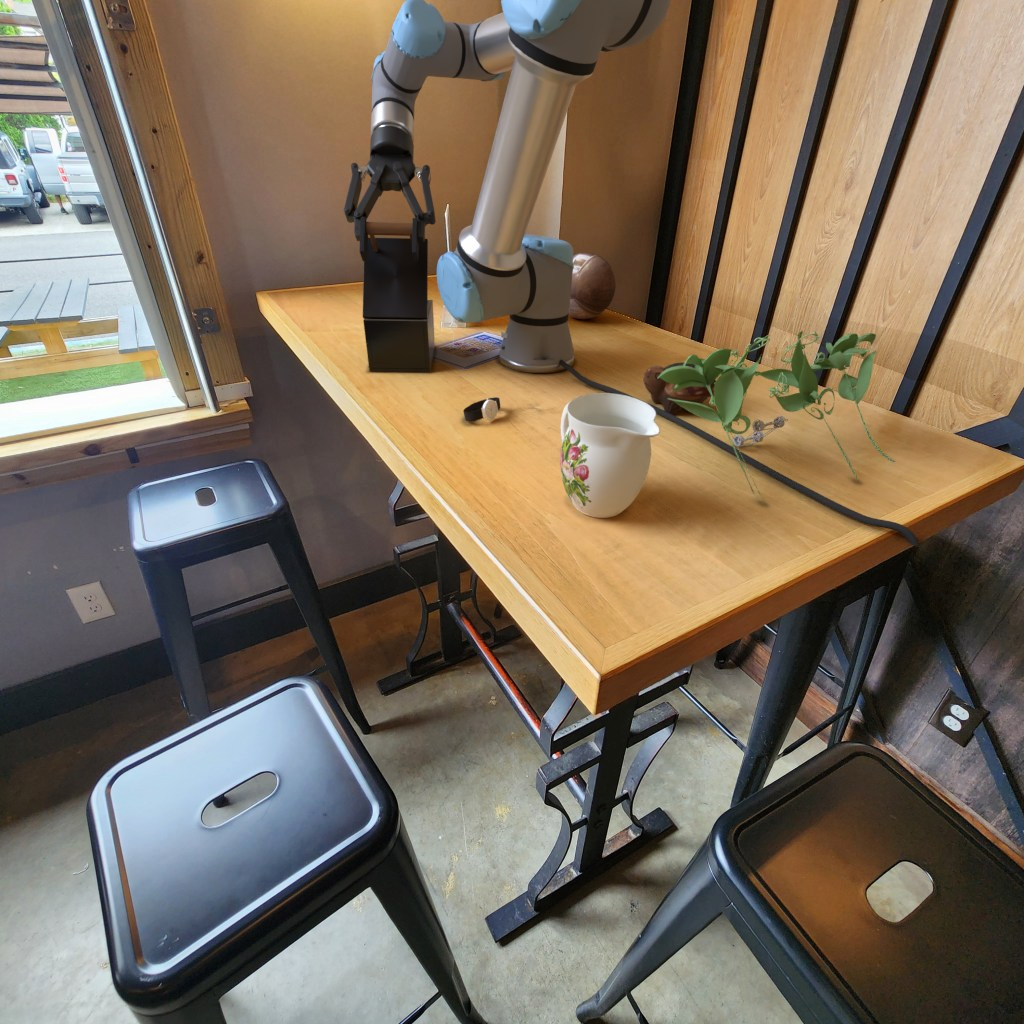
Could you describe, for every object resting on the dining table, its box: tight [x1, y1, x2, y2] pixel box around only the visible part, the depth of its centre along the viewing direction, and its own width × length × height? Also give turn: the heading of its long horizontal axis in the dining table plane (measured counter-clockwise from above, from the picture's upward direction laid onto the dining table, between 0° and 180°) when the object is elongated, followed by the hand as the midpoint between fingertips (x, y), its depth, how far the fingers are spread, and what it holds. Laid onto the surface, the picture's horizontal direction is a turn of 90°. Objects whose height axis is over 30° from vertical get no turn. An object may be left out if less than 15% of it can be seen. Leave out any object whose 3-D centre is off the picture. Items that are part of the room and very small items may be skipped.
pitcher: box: [559, 392, 661, 519], centre depth 71 cm, size 11×18×14 cm, turn 27°
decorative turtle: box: [642, 361, 717, 415], centre depth 97 cm, size 10×15×8 cm, turn 111°
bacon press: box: [362, 221, 429, 320], centre depth 101 cm, size 15×12×8 cm
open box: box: [362, 299, 436, 373], centre depth 112 cm, size 15×12×10 cm
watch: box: [462, 396, 501, 423], centre depth 93 cm, size 8×5×4 cm, turn 143°
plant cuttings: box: [658, 330, 896, 501], centre depth 80 cm, size 35×17×22 cm
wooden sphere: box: [568, 252, 617, 320], centre depth 138 cm, size 15×15×15 cm
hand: (389, 256), depth 97 cm, fingers closed on bacon press, 8 cm apart
